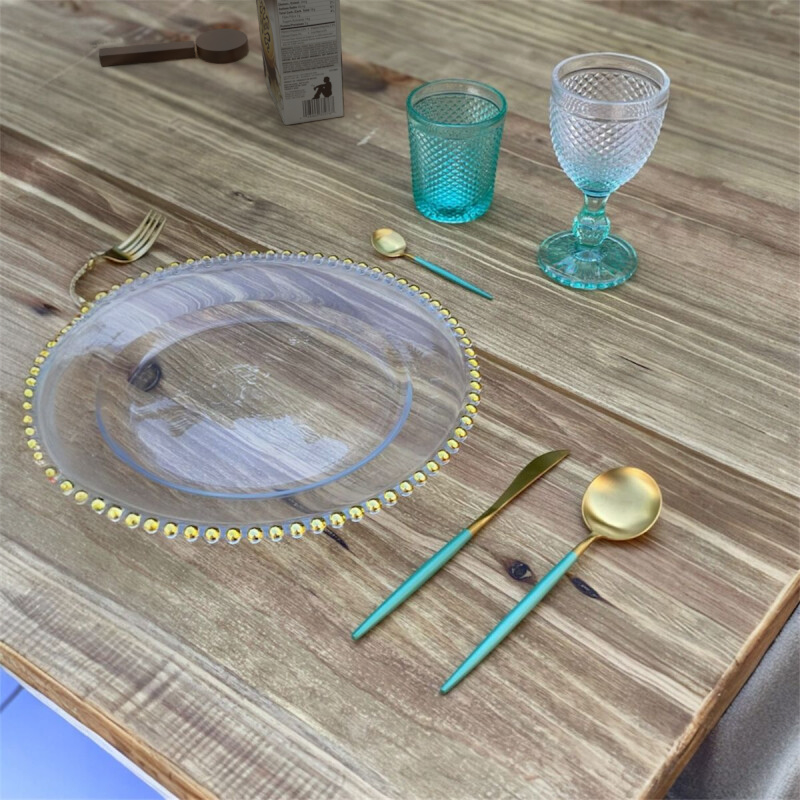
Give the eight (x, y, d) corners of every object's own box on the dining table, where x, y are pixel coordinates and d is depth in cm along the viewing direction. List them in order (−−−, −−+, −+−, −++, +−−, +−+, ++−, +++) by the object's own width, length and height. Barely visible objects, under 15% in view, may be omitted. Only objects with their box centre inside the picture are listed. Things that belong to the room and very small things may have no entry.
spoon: (100, 74, 98) (97, 61, 97) (102, 51, 102) (99, 39, 101) (251, 60, 100) (249, 48, 99) (246, 38, 104) (245, 26, 103)
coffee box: (263, 85, 96) (244, -82, 85) (323, 76, 98) (312, -90, 86) (283, 127, 90) (265, -47, 79) (347, 116, 92) (338, -56, 80)
